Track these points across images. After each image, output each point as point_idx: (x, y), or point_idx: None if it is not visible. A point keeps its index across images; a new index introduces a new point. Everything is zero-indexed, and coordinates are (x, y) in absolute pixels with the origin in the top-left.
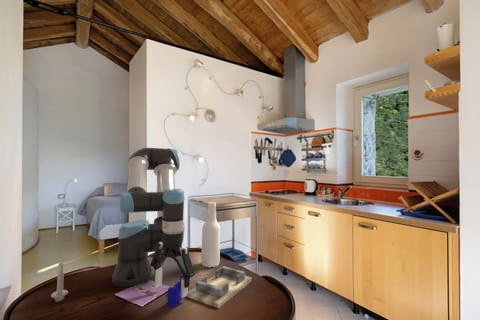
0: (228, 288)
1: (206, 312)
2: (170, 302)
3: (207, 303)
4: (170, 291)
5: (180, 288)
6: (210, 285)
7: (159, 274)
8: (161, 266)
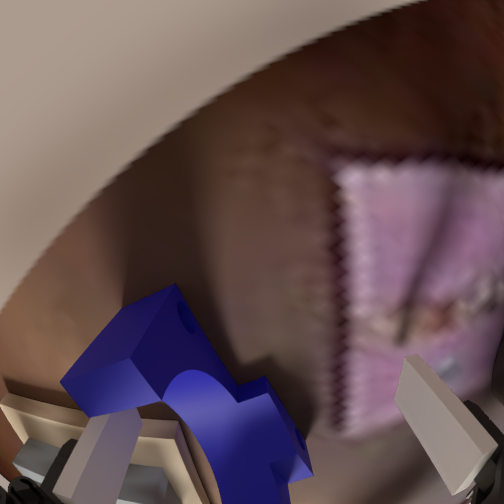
0: None
1: (2, 349)
2: (147, 305)
3: (48, 406)
4: (114, 352)
5: (239, 449)
6: None
7: (444, 444)
8: (468, 495)
